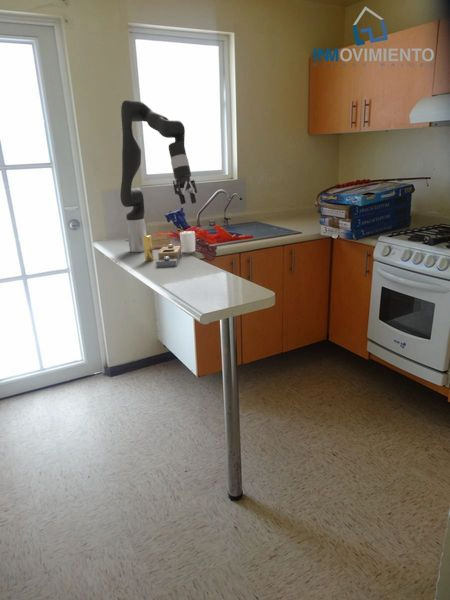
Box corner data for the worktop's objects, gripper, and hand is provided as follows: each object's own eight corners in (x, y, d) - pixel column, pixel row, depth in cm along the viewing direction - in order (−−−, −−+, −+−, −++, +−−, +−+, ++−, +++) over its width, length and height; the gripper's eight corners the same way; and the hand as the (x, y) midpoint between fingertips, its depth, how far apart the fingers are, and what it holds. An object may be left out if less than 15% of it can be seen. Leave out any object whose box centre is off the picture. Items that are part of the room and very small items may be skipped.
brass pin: (144, 261, 210) (141, 237, 206) (146, 259, 214) (143, 235, 210) (152, 261, 210) (150, 236, 206) (154, 259, 214) (151, 235, 210)
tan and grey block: (156, 267, 197) (155, 253, 195) (163, 256, 218) (162, 243, 216) (176, 266, 197) (174, 252, 195) (181, 255, 218) (180, 242, 216)
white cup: (182, 253, 222) (181, 234, 219) (180, 250, 229) (178, 232, 226) (197, 251, 224) (196, 232, 221) (194, 249, 231) (193, 230, 228)
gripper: (183, 170, 198) (190, 205, 200) (164, 168, 186) (173, 206, 188) (196, 165, 194) (204, 201, 196) (178, 163, 182) (186, 202, 184)
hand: (188, 203), depth 192 cm, fingers open, 8 cm apart
